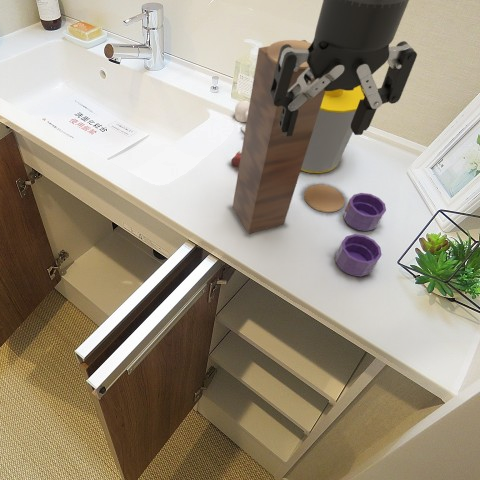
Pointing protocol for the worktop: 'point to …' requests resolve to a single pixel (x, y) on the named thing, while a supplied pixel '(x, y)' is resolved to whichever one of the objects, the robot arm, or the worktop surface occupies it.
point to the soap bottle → (331, 130)
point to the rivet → (243, 128)
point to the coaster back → (324, 198)
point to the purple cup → (364, 211)
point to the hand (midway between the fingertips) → (321, 132)
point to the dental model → (236, 159)
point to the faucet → (242, 111)
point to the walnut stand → (271, 152)
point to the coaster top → (295, 44)
